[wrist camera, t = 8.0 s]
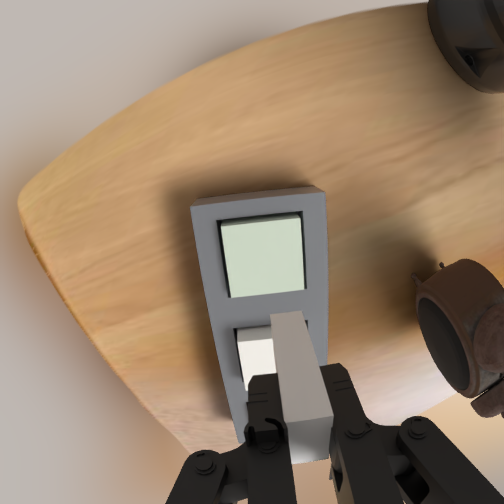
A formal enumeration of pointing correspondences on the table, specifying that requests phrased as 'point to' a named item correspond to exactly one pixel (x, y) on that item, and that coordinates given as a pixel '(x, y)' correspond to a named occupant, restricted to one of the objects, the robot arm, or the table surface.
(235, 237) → the key sage
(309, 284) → the keypad
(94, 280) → the table surface
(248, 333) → the key offwhite
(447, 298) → the alarm clock
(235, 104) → the table surface
